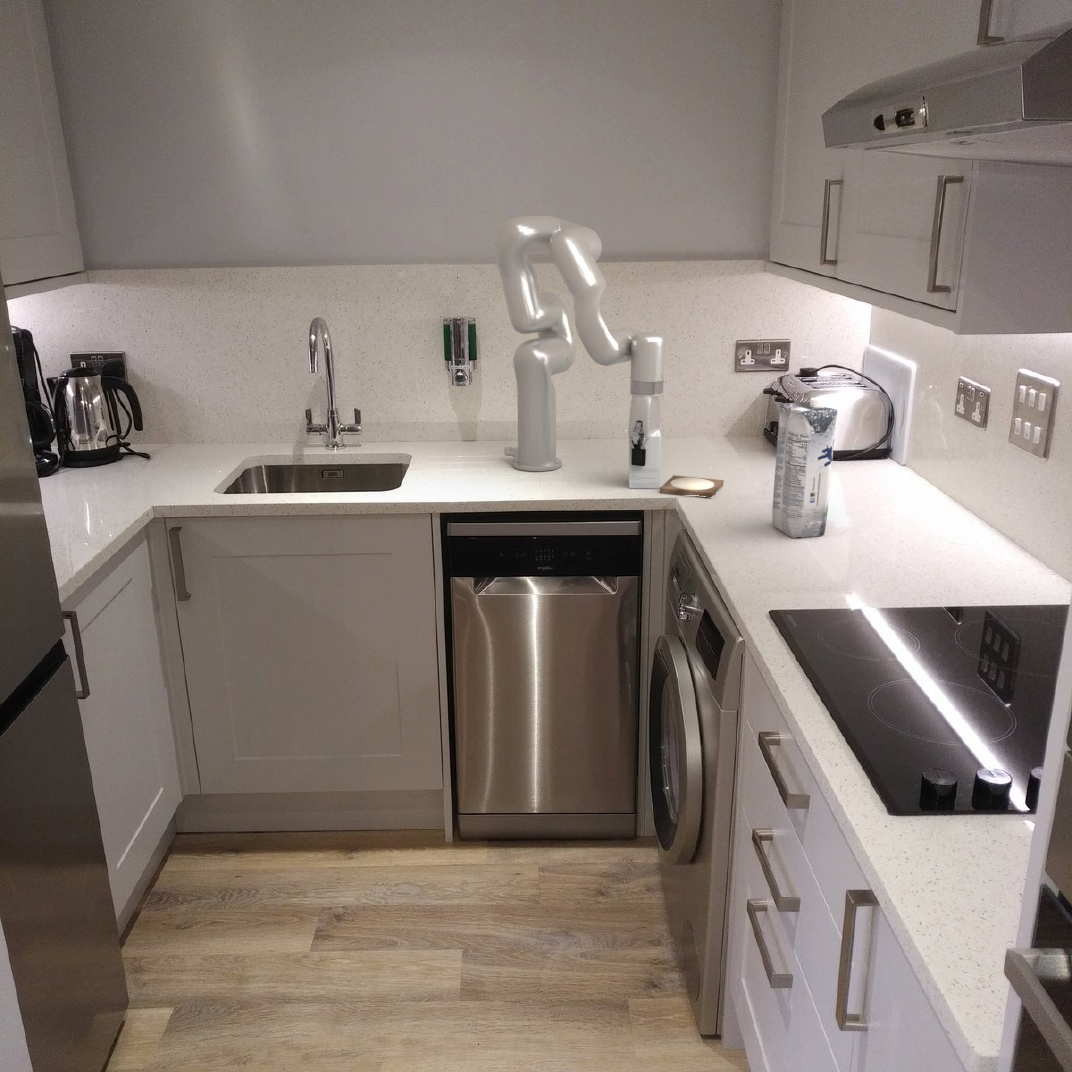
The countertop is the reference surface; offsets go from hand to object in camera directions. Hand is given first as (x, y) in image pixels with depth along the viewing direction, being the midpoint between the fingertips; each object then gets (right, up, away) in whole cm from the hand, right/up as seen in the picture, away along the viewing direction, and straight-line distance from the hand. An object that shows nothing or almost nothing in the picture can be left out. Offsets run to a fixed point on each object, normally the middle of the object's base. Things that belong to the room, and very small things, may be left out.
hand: (644, 460), depth 237 cm
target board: (+11, -7, -2) cm, 13 cm away
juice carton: (+28, -17, -31) cm, 45 cm away
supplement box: (0, -6, +2) cm, 6 cm away
